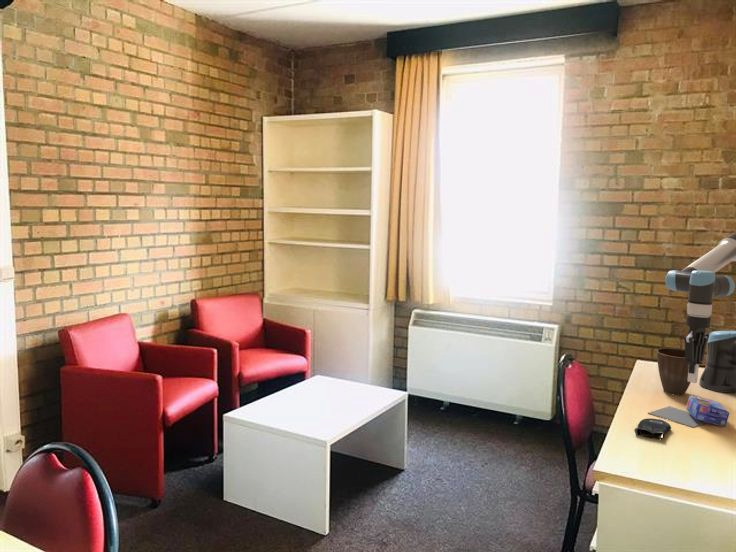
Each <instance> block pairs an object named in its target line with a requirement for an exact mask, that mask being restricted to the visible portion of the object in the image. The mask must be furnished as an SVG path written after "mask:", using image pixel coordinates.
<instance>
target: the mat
mask: <svg viewBox="0 0 736 552" xmlns="http://www.w3.org/2000/svg"><path fill="white" fill-rule="evenodd" d="M647 414H648V415H651V416H654V417H657V418H660V417H661V419H663V418H664V419H663V420H666V419H668V420H667V421H670V420H671V421H670V422H673V421H675V422H674V423H676V422H677V423H676V424H679V423H681V424H680V425H683V424H684V425H683V426H686V427H689V428H693V429H694V428H697V427H700V426H702V425H705V424H708V422H704V421H701V420H697V419H695V418H694V417H693V416H692V415H691V414H690V413H689V411H688V410H683V409H680V408H677V407H674V406H670V405H668V406H666V407H663V408H659V409H656V410H652V411H650V412H647Z"/></svg>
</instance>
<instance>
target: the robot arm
mask: <svg viewBox="0 0 736 552" xmlns="http://www.w3.org/2000/svg"><path fill="white" fill-rule="evenodd" d="M732 262H736V232H734V233H732V234H729V235H727V236H726V237H725V238H723V239H721V240H720V241H719V242H718V244H717V246H716V247H714V248H713V249H711V250H710V251H708V252H707V253H705V254H704V255H702V256H700V257H698V259H696V260H695V261H693V262H692V263H690V264H689V265H688V266H686V267H684V268H683V269H681V270H678V269H675V270H674V269H673V270H669V271H668V272H667V273H666V275H665V277H664V279H665V280H664V283H665V286H666V288H667V289H668V290H669V291H676V292H681V293H686V294H687V293H688V299H687V304H686V307H687V309H686V313H687V315H686V317H685V318H686V319H685V325H686V326H687V327H689V328H688V332H687V334H688V335H684V337H683V341H684V350H685V360H686V363H689V369H688V380H687V381H688V382H691V383H692V384H698V385H699V386H701V387H702V388H705V389H708V390H711V391H716V392H721V393H729V394H730V393H733V394H735V393H736V331H735V330H715V331H711V332H710V333H707V329H710V327H711V322H712V318H711V316H712V312H713V299H714V298H724V297H727V296H730V295H731V294H733V293H734V291H735V288H736V283H735V281H734V279H733V278H732V277H730V276H728V275H724V274H719V275H716V274H715V273H717V272H718V271H720V270H721V269H722V268H724V267H725V266H726V265H727V266H728V264H730V263H732ZM706 348H707V350H706ZM705 354H706V361H705V367H704V369H703V372H702V374H701V375H700V378H699V379H698V377H699V367H700V365H703V361H704V358H705ZM698 380H699V382H698Z"/></svg>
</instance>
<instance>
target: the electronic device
mask: <svg viewBox="0 0 736 552" xmlns="http://www.w3.org/2000/svg"><path fill="white" fill-rule="evenodd" d="M671 429H672V426H671V424H670V423H669V422H668V421H665V420H664V419H663V420H662V419H659V418H644V419H641V420H640V421H639V422H638V424H637V427H635V428H634V429H633V431H634V433H635V436H641V437H645V438H647V439H653V436H652V437H651V436H650V435H645V434H644V435H642V434H641V433H642V431H647V432H648V433H650V434H651V433H652V435H654V434H663V438H661V440H660V441H662V440H663V439H665V437H666V435H667V434H668V433H669V432H670V430H671Z"/></svg>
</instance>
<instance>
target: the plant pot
mask: <svg viewBox="0 0 736 552" xmlns="http://www.w3.org/2000/svg"><path fill="white" fill-rule="evenodd" d="M656 357H657V367H658V368H657V369H658V372H659V379H660V382H661V386H662V390H663V392H664V393H666V394H668V393H669V394H668V395H672V394H674V395H673V396H684V395H685V394H686V392H687V391H688V390H689V387H690V385H691V383H692V382H688V381H687V380H688V369H689V363H686V360H685V349H681V348H671V347H667V348H666V347H665V348H663V347H662V348H657V350H656Z"/></svg>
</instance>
